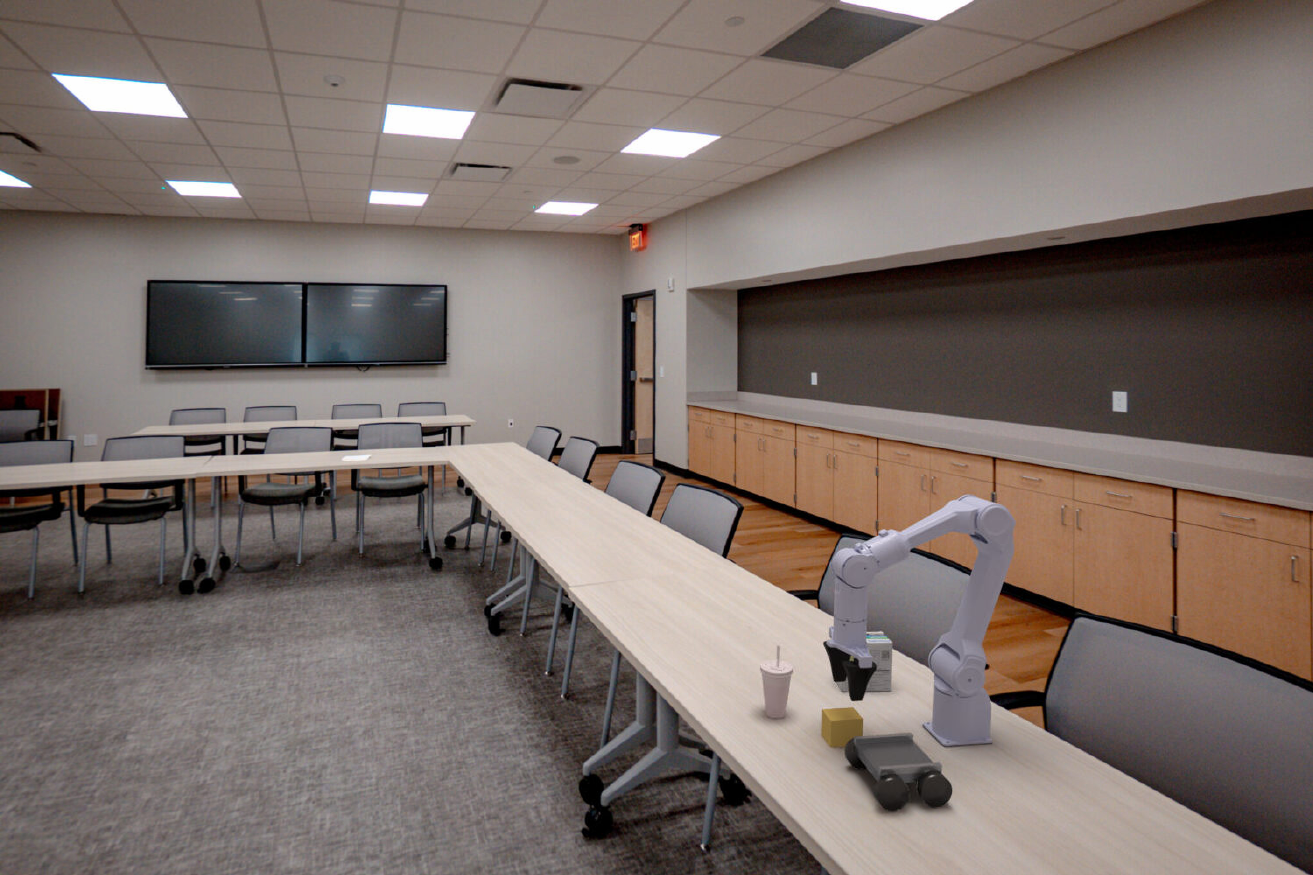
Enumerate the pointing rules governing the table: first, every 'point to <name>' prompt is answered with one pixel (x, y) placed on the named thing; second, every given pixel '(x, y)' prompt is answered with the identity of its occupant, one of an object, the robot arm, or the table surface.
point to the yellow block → (841, 725)
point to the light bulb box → (877, 663)
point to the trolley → (898, 769)
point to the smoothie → (776, 685)
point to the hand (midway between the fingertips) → (847, 690)
